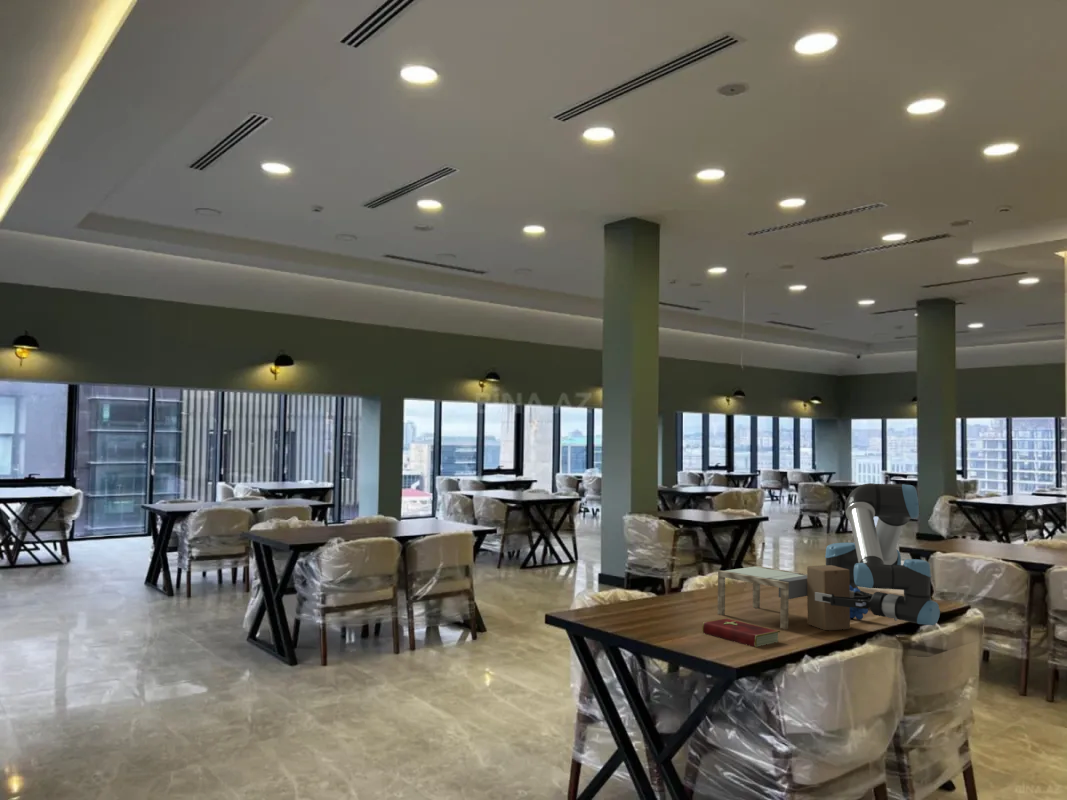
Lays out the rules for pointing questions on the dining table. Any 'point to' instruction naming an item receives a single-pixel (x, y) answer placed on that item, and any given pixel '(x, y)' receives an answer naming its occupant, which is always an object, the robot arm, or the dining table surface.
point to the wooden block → (830, 583)
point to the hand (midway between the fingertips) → (825, 594)
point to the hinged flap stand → (756, 591)
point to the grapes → (856, 611)
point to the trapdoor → (779, 579)
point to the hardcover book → (740, 632)
